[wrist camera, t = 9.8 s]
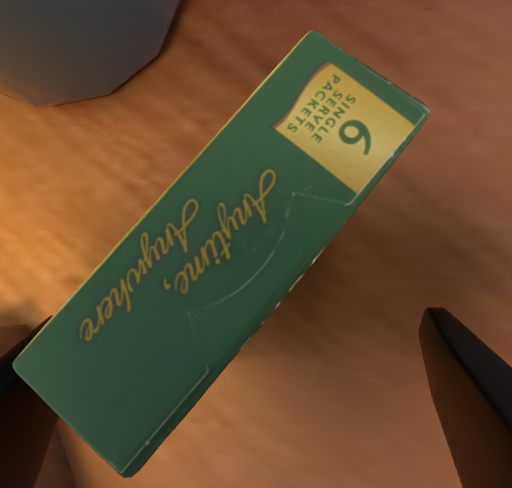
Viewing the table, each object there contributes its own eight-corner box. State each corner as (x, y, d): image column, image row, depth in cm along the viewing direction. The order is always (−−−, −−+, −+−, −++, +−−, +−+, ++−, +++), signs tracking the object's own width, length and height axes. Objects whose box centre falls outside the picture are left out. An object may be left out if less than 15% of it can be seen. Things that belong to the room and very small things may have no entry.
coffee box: (291, 193, 20) (313, 3, 7) (337, 231, 19) (453, 107, 6) (182, 319, 19) (-19, 374, 6) (227, 360, 19) (112, 508, 6)
